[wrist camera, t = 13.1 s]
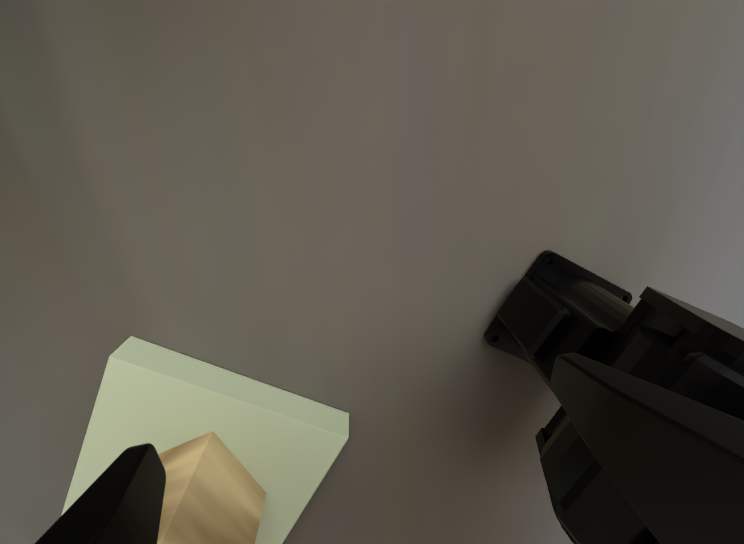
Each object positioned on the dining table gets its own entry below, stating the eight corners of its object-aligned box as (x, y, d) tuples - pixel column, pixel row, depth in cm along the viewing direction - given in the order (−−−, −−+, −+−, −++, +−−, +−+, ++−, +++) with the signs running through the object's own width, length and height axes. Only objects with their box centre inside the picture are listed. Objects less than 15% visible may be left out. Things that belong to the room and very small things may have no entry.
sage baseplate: (348, 413, 24) (348, 437, 22) (271, 541, 28) (265, 570, 26) (131, 335, 21) (109, 356, 19) (81, 492, 25) (59, 521, 23)
